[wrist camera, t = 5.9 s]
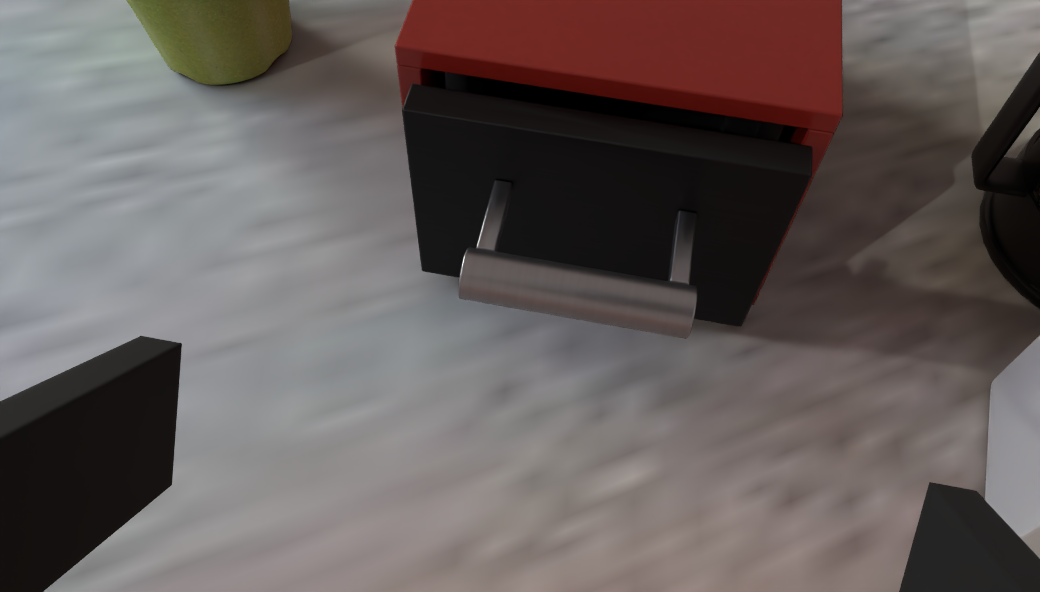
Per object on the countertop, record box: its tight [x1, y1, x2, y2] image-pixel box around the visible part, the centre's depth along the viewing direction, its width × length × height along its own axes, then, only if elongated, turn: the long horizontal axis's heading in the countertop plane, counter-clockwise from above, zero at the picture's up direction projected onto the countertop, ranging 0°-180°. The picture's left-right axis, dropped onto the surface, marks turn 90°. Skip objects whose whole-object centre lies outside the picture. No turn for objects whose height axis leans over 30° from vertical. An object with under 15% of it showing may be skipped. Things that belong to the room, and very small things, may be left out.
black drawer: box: [402, 72, 813, 339], centre depth 33 cm, size 19×12×9 cm, turn 169°
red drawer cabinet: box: [395, 0, 843, 305], centre depth 35 cm, size 16×14×11 cm
